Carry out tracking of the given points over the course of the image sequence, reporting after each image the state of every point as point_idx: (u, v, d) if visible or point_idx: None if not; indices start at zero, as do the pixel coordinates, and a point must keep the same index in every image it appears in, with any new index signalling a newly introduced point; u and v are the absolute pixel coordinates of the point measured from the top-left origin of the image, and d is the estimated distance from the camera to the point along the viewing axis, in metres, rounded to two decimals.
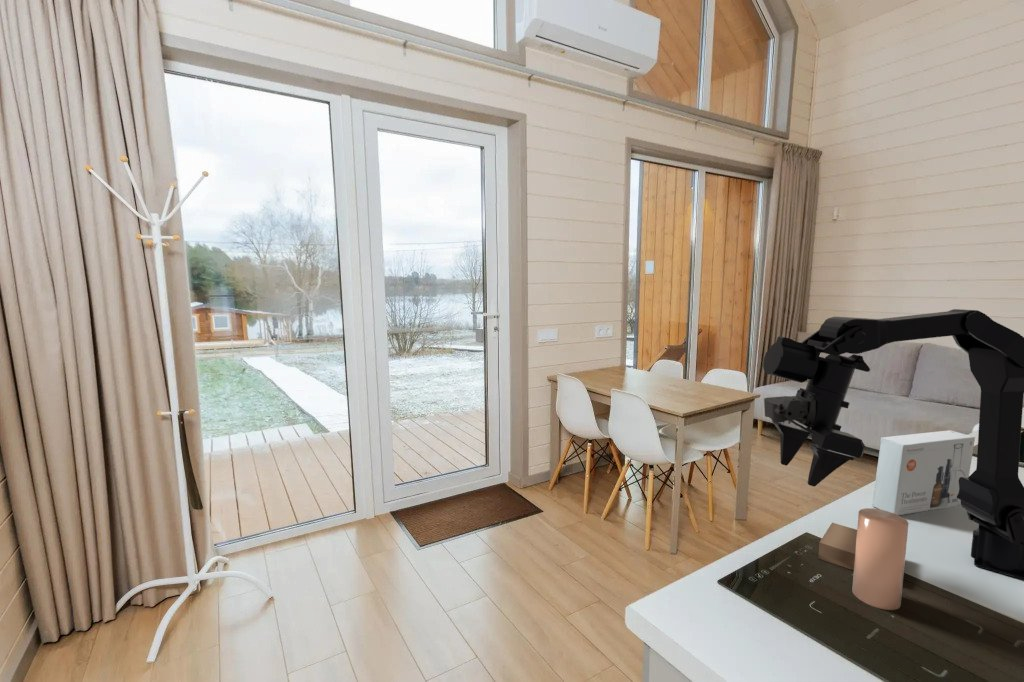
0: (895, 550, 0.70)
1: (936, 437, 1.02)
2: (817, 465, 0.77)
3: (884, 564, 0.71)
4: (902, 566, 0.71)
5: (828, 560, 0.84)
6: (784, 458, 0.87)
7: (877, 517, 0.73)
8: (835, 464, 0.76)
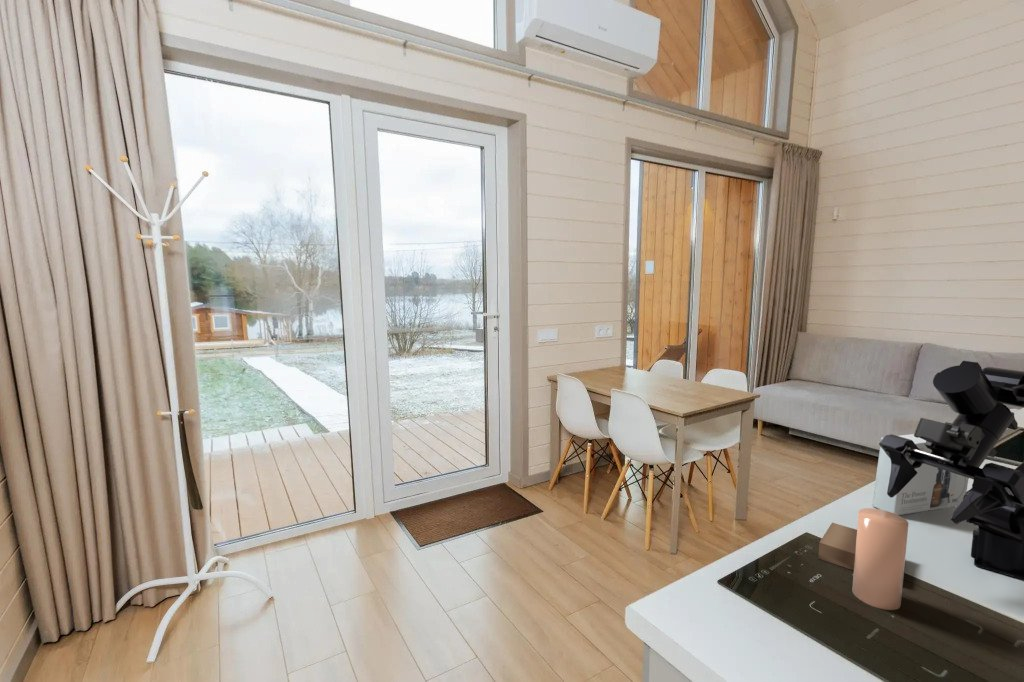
0: (895, 550, 0.70)
1: None
2: (975, 502, 0.70)
3: (884, 564, 0.71)
4: (902, 566, 0.71)
5: (828, 560, 0.84)
6: (893, 489, 0.79)
7: (877, 518, 0.73)
8: (988, 506, 0.70)
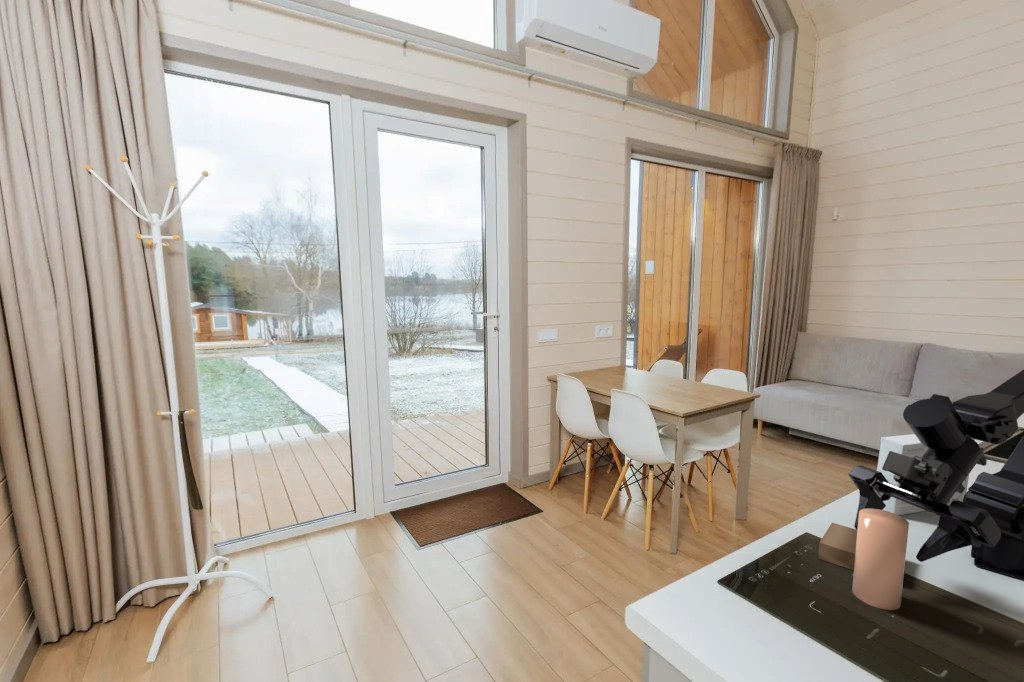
0: (895, 550, 0.70)
1: None
2: (940, 540, 0.68)
3: (884, 564, 0.71)
4: (902, 566, 0.71)
5: (828, 560, 0.84)
6: None
7: (877, 518, 0.72)
8: (954, 545, 0.69)
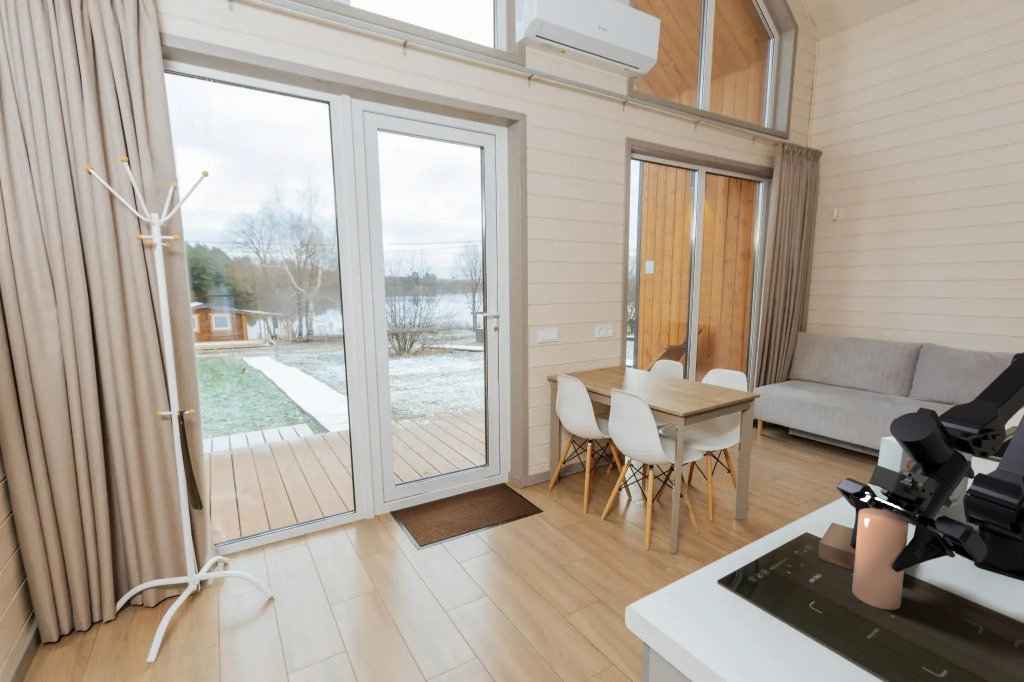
0: (895, 550, 0.70)
1: None
2: (916, 551, 0.69)
3: (884, 563, 0.71)
4: None
5: (828, 560, 0.84)
6: None
7: (877, 517, 0.73)
8: (929, 556, 0.69)
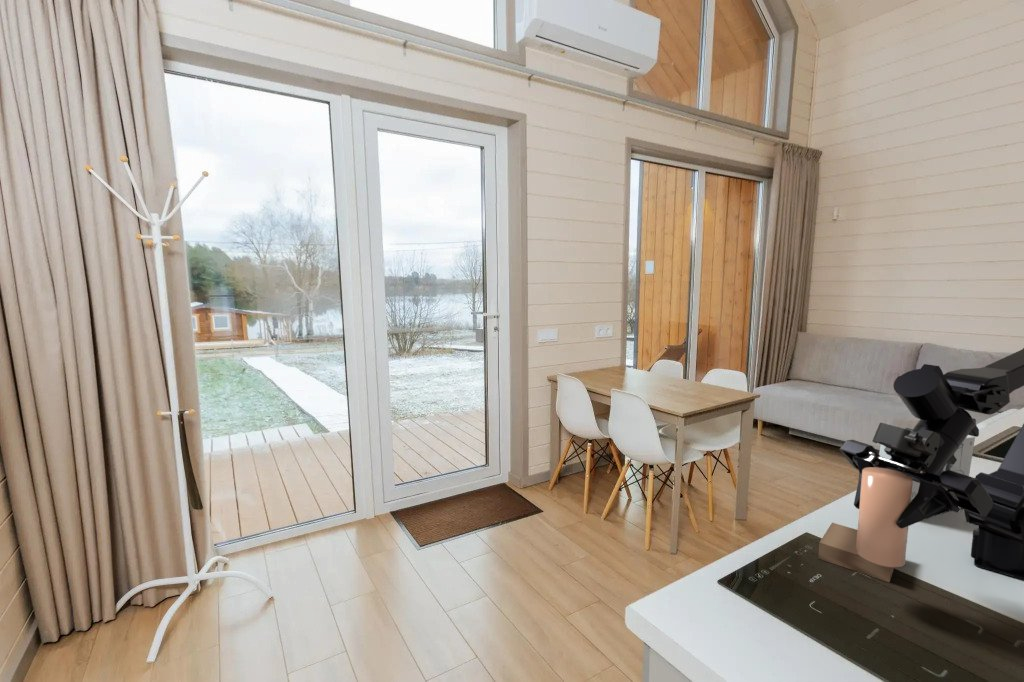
0: (899, 506, 0.69)
1: None
2: (920, 506, 0.68)
3: (888, 520, 0.70)
4: None
5: (828, 560, 0.84)
6: None
7: (881, 475, 0.72)
8: (934, 511, 0.69)
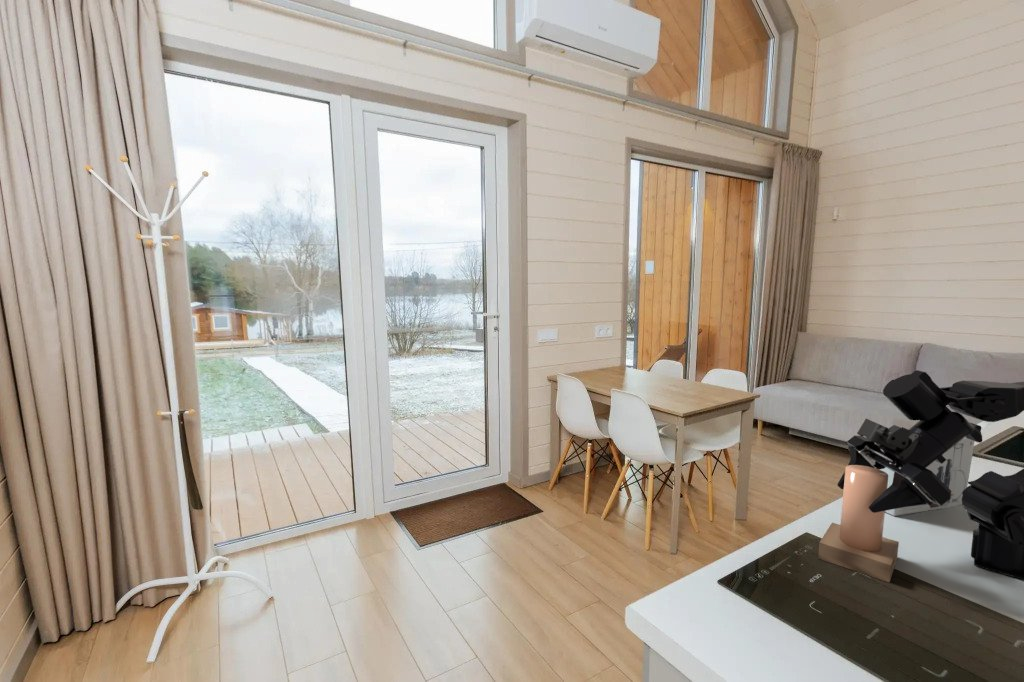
0: (868, 498, 0.81)
1: None
2: (891, 495, 0.77)
3: (858, 508, 0.82)
4: (877, 514, 0.81)
5: (828, 560, 0.84)
6: (843, 482, 0.88)
7: (860, 470, 0.83)
8: (907, 502, 0.77)
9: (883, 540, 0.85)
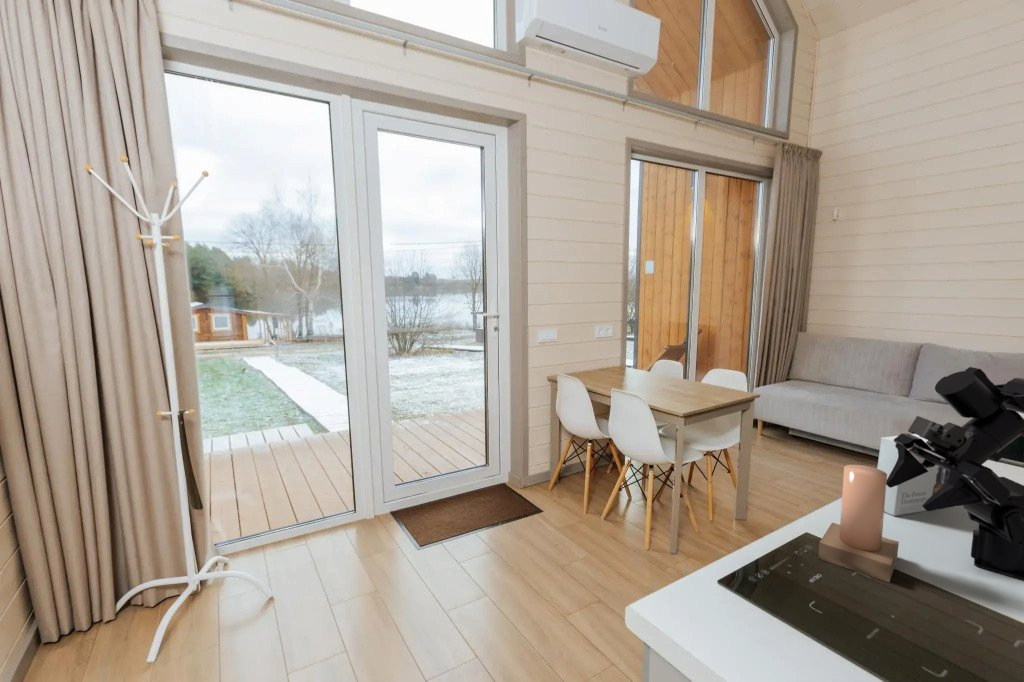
0: (867, 497, 0.81)
1: None
2: (946, 493, 0.76)
3: (857, 508, 0.82)
4: (876, 513, 0.81)
5: (828, 560, 0.84)
6: (892, 480, 0.87)
7: (858, 470, 0.83)
8: (963, 500, 0.76)
9: (883, 540, 0.85)
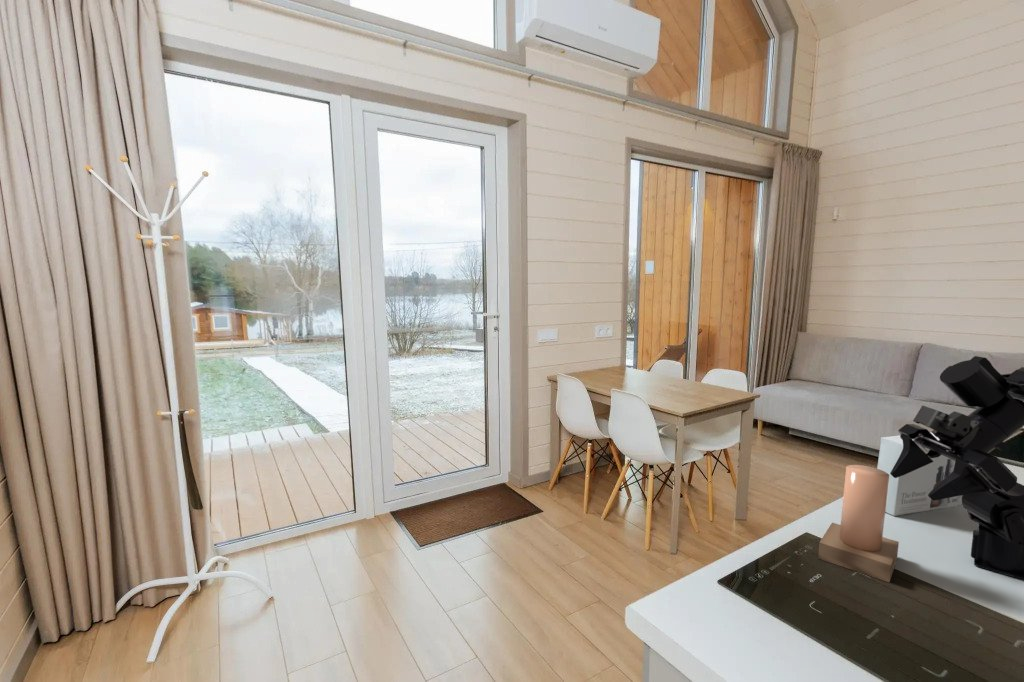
0: (868, 497, 0.81)
1: (936, 437, 1.02)
2: (952, 482, 0.76)
3: (858, 508, 0.82)
4: (877, 514, 0.81)
5: (828, 560, 0.84)
6: (897, 470, 0.87)
7: (860, 470, 0.83)
8: (969, 489, 0.76)
9: (883, 540, 0.85)
